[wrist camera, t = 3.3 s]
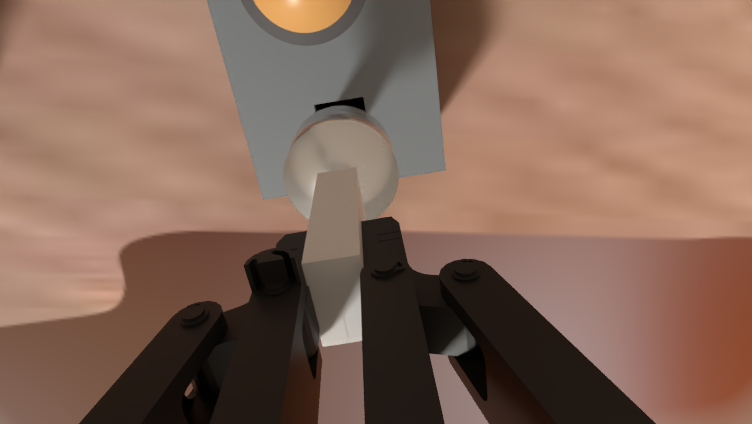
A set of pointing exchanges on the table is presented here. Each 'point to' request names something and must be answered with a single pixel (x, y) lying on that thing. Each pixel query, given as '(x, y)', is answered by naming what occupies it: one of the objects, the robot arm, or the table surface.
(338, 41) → the console
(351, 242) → the robot arm
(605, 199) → the table surface
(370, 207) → the knob
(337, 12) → the pot knob
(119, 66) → the table surface
